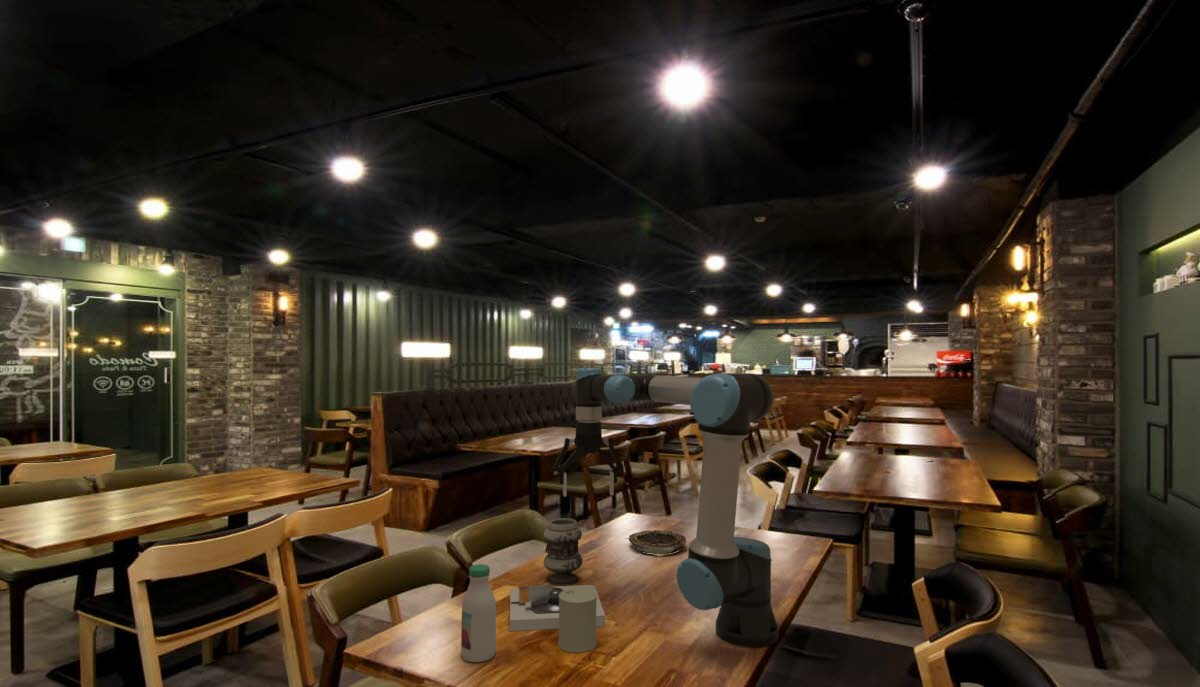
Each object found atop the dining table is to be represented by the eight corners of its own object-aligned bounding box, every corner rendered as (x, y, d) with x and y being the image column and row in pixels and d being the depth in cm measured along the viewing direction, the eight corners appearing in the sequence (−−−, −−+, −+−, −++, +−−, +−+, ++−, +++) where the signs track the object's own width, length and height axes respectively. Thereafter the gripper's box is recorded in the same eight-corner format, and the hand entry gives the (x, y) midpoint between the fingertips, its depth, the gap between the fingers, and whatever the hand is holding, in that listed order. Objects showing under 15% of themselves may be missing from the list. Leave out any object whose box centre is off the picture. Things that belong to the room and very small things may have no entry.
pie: (708, 546, 230) (707, 533, 230) (675, 568, 207) (675, 553, 207) (640, 535, 245) (640, 522, 245) (604, 554, 222) (603, 539, 222)
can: (575, 632, 155) (576, 583, 156) (604, 642, 149) (605, 592, 150) (550, 645, 148) (550, 593, 149) (579, 656, 142) (579, 603, 143)
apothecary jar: (558, 571, 201) (558, 514, 201) (590, 577, 195) (590, 519, 195) (535, 582, 190) (535, 522, 191) (568, 589, 184) (568, 528, 185)
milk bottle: (497, 647, 147) (498, 561, 147) (493, 663, 139) (494, 572, 140) (464, 647, 146) (465, 561, 147) (458, 663, 139) (459, 572, 139)
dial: (573, 595, 176) (573, 575, 176) (584, 613, 164) (584, 591, 164) (515, 600, 172) (516, 579, 172) (522, 619, 159) (522, 597, 160)
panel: (605, 626, 159) (605, 614, 159) (509, 631, 156) (509, 619, 156) (594, 594, 181) (594, 584, 181) (510, 598, 177) (510, 587, 177)
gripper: (628, 419, 186) (628, 491, 186) (544, 420, 183) (544, 493, 182) (633, 422, 179) (633, 496, 178) (546, 422, 175) (545, 498, 175)
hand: (588, 495), depth 180 cm, fingers open, 13 cm apart
